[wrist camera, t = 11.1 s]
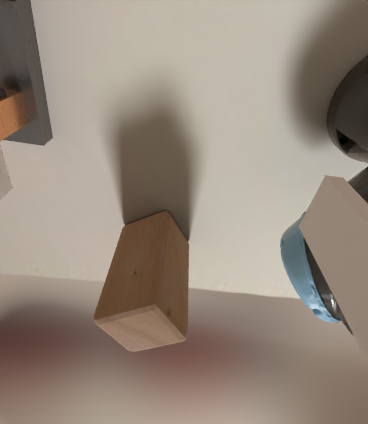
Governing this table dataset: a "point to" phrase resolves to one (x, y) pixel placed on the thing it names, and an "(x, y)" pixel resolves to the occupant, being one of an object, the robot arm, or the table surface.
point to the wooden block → (147, 285)
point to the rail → (21, 77)
